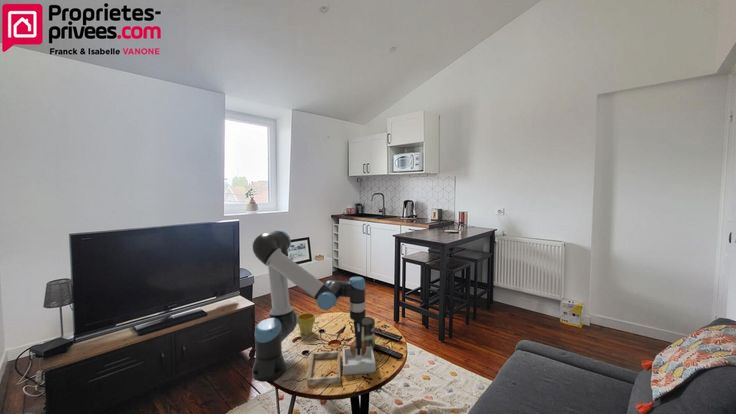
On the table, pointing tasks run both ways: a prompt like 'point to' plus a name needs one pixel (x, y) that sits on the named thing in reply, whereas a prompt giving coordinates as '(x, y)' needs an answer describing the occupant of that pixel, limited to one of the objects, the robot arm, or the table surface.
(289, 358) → the table surface
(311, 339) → the table surface
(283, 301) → the robot arm
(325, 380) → the corral
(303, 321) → the plant pot
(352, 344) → the apple
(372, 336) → the coffee can
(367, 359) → the bin
